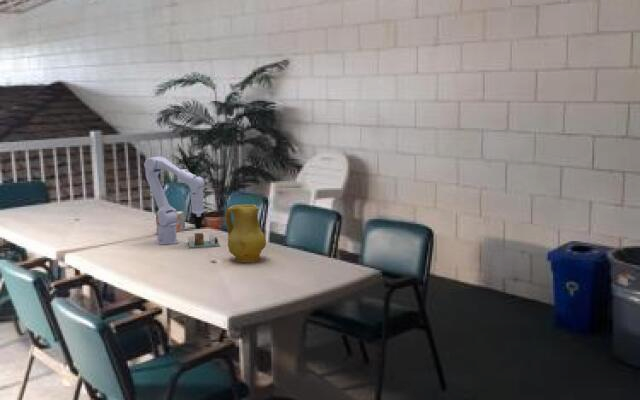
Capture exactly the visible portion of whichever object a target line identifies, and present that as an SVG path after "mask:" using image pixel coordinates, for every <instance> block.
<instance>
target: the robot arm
mask: <svg viewBox="0 0 640 400" xmlns="http://www.w3.org/2000/svg"><path fill="white" fill-rule="evenodd" d="M143 166H144V169H145V178H146V180H147V183H148V185H149V189H150V190H151V193H152V195H153V198H154V200H155V203H156V205H157V209H158V211H157V212H156V213H157V215H158V221H159V223H160V225H161V226H158V235H157V237H156V238H157V239H156V241H157V242H158V245H172V244H173V245H174V244H179V241H178V238H177V237H178V236H177V231H176V222H177V221H178V218H179V217H178V214H177V212H175V210H174V209H175V208H174V207H173V206H171V205H170V204H169V200H168V199H167V196H166V193H165V191H164V189H163V186H162V184H161V181H160V179H159V175H160V172H162V170H166V171H168V172H170V173H172V174H174V175H175V176H177V178H178V180H179V181H181V182H182V183H185V184H186V185H188V187H189V189H190V196H191V197H190V198H191V201H190V203H191V213H193V214H191V216H192V218H193V220H194V226H195V229H196V230H200V229H202V221H203V219H204V217H205V214H204V213H205V212H207V209H204V187H205V185H206V184H205V183H206V182H205V179H204V178H203V177H202V176H199V175H198V176H197V174H193V173H192V172H190V171H189V169H181V168H179V167H178V166H176V164H173V163H172V162H170V161H169V160H168V159H167V158H166V157H164V156H162V155H158V156H153V157H147V158H146V159H145V161H144V164H143Z"/></svg>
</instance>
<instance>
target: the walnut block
mask: <svg viewBox="0 0 640 400" xmlns="http://www.w3.org/2000/svg"><path fill="white" fill-rule="evenodd" d="M204 241H205V239H204V234H203V232H195V233H194V242H195V245H204Z"/></svg>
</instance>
